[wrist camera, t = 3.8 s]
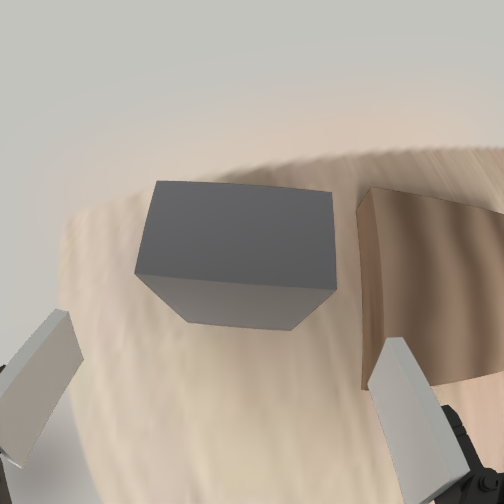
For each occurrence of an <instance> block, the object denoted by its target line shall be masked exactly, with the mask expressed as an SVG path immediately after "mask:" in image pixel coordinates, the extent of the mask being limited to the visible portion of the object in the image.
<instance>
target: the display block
mask: <svg viewBox="0 0 504 504" xmlns="http://www.w3.org/2000/svg"><path fill="white" fill-rule="evenodd" d="M356 214H357V224H358V234H359V246H360V260H361V277H362V302H363V365H362V389H361V390H368V391H369V388H368V385H367V384H368V381H369V379H370V377H371V375H372V372H373V370H374V368H375V366H376V363H377V361H378V358H379V356H380V354H381V351H382V349H383V346H384V344H385V341H386V339H387V338H392V337H403V339H404V340H405V342H406V344H407V346H408V347H409V349H410V351H411V352H412V354H413V356H414V358H415V359H416V361H417V363H418V365H419V367H420V368H421V370H422V372H423V374H424V376H425V377H426V379H427V381H428V383H429V385H430V386H435V385H441V384H447V383H452V382H457V381H462V380H467V379H472V378H476V377H481V376H485V375H489V374H493V373H497V372H500V371H504V214H501V213H497V212H494V211H490V210H486V209H482V208H478V207H473V206H469V205H465V204H460V203H456V202H451V201H447V200H442V199H437V198H432V197H427V196H422V195H416V194H411V193H405V192H400V191H394V190H388V189H382V188H375V187H371V188H370V189H369V191H368V192H367V194H366V196H365V197H364V199H363V201H362V202H361V204H360V205H359V207H358V209H357V210H356Z"/></svg>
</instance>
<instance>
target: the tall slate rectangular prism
mask: <svg viewBox="0 0 504 504" xmlns="http://www.w3.org/2000/svg"><path fill="white" fill-rule="evenodd" d="M134 274H135V275H136V276H137V277H138V278H139V279H140V280H141V281H143V282H144V283H145V284H146V285H147V286H148V287H149V288H150V289H151V290H152V291H153V292H154V293H155V294H156V295H158V296H159V297H160V298H161V299H162V300H163V301H164V302H165V303H166V304H167V305H169V306H170V307H171V308H172V309H173V310H174V311H175V312H176V313H178V314H179V315H180V316H181V317H182V318H183V319H184V320H186V321H187V322H189V323H198V324H208V325H218V326H229V327H241V328H254V329H270V330H288V331H291V330H292V329H293V328H294V327H296V326H297V325H298V324H299V323H300V322H301V321H302V320H304V319H305V318H306V317H307V316H308V315H309V314H310V313H312V312H313V311H314V310H315V309H316V308H317V307H318V306H319V305H321V304H322V303H323V302H324V301H325V300H326V299H327V298H328V297H329V296H330V295H331V294H333V293H334V292H335V291H336V290H337V282H336V250H335V230H334V214H333V200H332V192H323V191H314V190H305V189H294V188H284V187H272V186H259V185H245V184H230V183H211V182H187V181H157V182H156V186H155V189H154V193H153V196H152V200H151V204H150V207H149V211H148V215H147V219H146V223H145V227H144V231H143V236H142V240H141V244H140V249H139V253H138V258H137V263H136V268H135V273H134Z"/></svg>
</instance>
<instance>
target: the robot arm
mask: <svg viewBox="0 0 504 504" xmlns="http://www.w3.org/2000/svg"><path fill="white" fill-rule="evenodd" d="M83 360H84V359H83V356H82V353H81V350H80V347H79V344H78V341H77V338H76V335H75V332H74V329H73V325H72V322H71V319H70V315H69V312H68V311H63V310H58V309H55V310H54V311H53V312H52V313H51V314H50V315H49V316H48V318H47V319H46V320H45V321H44V322H43V323H42V324H41V325H40V326H39V328H38V329H37V330H36V331H35V332H34V333H33V334H32V335H31V337H30V338H29V339H28V340H27V341H26V342H25V344H24V345H23V346H22V347H21V348H20V350H19V351H18V352H17V353H16V354H15V356H14V357H13V358H12V359H11V360H10V362H9V363H8V364H7V365H3V366H1V367H0V453H2V454H3V455H4V456H5V457H6V458H7V459H8V460H9V461H10V462H12V463H14V464H15V465H17V466H18V467H20V468H23V467H24V465H25V463H26V461H27V459H28V457H29V455H30V453H31V451H32V449H33V447H34V445H35V443H36V441H37V439H38V437H39V435H40V434H41V432H42V430H43V428H44V426H45V424H46V422H47V421H48V419H49V417H50V415H51V413H52V412H53V410H54V408H55V406H56V405H57V403H58V401H59V399H60V398H61V396H62V394H63V392H64V391H65V389H66V388H67V386H68V384H69V383H70V381H71V379H72V378H73V376H74V374H75V373H76V371H77V370H78V368H79V366H80V365H81V363H82V362H83ZM367 385H368V388H369V391H370V393H371V396H372V399H373V402H374V405H375V408H376V411H377V414H378V417H379V420H380V423H381V426H382V429H383V432H384V435H385V438H386V441H387V444H388V448H389V451H390V454H391V457H392V461H393V464H394V467H395V471H396V474H397V478H398V481H399V485H400V488H401V492H402V496H403V499H404V503H405V504H428V503H430V502H431V501H432V500H434V501H435V504H504V473H497V472H496V471H495V470H493V469H491V468H484V467H483V465H482V463H481V462H480V459H479V457H478V455H477V453H476V451H475V448H474V446H473V444H472V442H471V440H470V438H469V436H468V435H467V434H466V433H467V432H466V430H465V428H464V426H462V422H461V420H460V418H459V416H458V414H457V413H456V412H455V411H454V410H453V409H452V408H451V407H450V406H449V405H444V406H440V404H439V402H438V400H437V398H436V396H435V394H434V392H433V391H432V389H431V387H430V385H429V383H428V381H427V379H426V377H425V376H424V374H423V372H422V370H421V368H420V367H419V365H418V363H417V361H416V359H415V358H414V356H413V354H412V352H411V351H410V349H409V347H408V346H407V344H406V342H405V340H404V339H403V337H392V338H387V339H386V341H385V344H384V346H383V349H382V351H381V354H380V356H379V358H378V361H377V363H376V366H375V368H374V370H373V372H372V375H371V377H370V379H369V381H368V384H367ZM0 504H12V501H11V498H10V494H9V491H8V487H7V482H6V478H5V473H4V470H3V465H2V461H1V458H0Z"/></svg>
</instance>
